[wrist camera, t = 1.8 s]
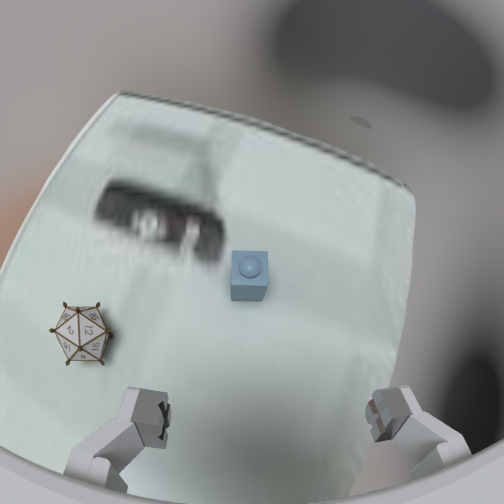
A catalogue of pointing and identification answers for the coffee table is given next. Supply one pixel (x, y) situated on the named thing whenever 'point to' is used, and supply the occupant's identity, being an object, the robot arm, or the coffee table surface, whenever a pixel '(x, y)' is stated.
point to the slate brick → (249, 275)
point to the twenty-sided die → (82, 333)
